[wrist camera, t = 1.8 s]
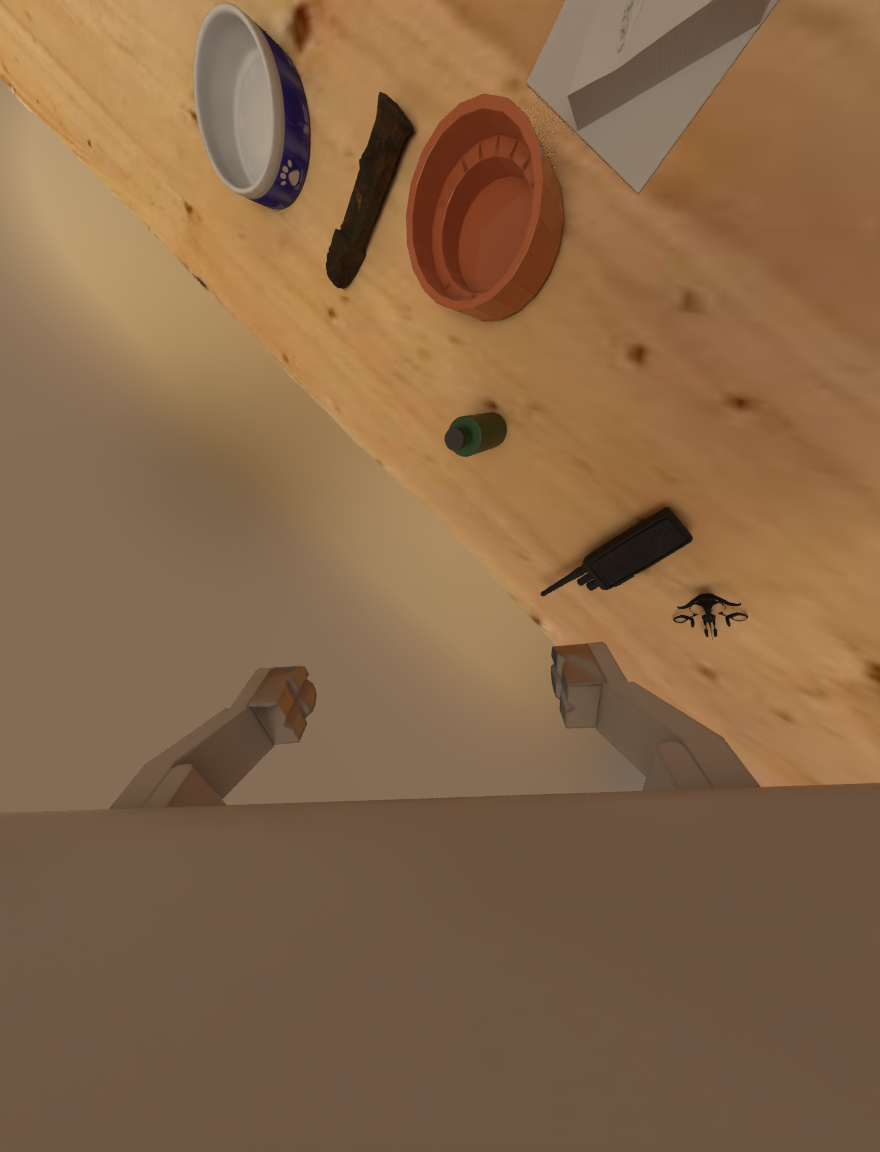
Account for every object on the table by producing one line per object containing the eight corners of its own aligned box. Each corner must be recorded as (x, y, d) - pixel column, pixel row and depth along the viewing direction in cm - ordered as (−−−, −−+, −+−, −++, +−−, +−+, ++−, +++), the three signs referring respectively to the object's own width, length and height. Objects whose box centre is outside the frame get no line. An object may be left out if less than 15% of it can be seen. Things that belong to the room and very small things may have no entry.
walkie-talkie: (703, 550, 40) (564, 622, 52) (676, 514, 44) (551, 589, 56) (686, 532, 37) (541, 613, 49) (658, 495, 40) (529, 579, 52)
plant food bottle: (483, 407, 48) (443, 411, 40) (512, 420, 47) (477, 427, 38) (472, 439, 51) (432, 450, 42) (499, 452, 50) (464, 466, 41)
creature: (747, 626, 44) (744, 580, 41) (756, 658, 41) (754, 610, 37) (675, 628, 49) (667, 586, 46) (678, 656, 45) (669, 613, 42)
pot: (469, 139, 37) (426, 83, 30) (592, 165, 33) (574, 108, 26) (434, 302, 46) (394, 287, 39) (528, 337, 42) (502, 328, 35)
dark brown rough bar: (398, 103, 39) (372, 75, 35) (420, 131, 39) (395, 106, 35) (335, 275, 51) (311, 266, 48) (351, 295, 51) (328, 289, 48)
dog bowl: (253, 2, 42) (203, -46, 37) (328, 110, 43) (288, 77, 38) (227, 153, 52) (185, 131, 47) (288, 239, 52) (252, 225, 48)
